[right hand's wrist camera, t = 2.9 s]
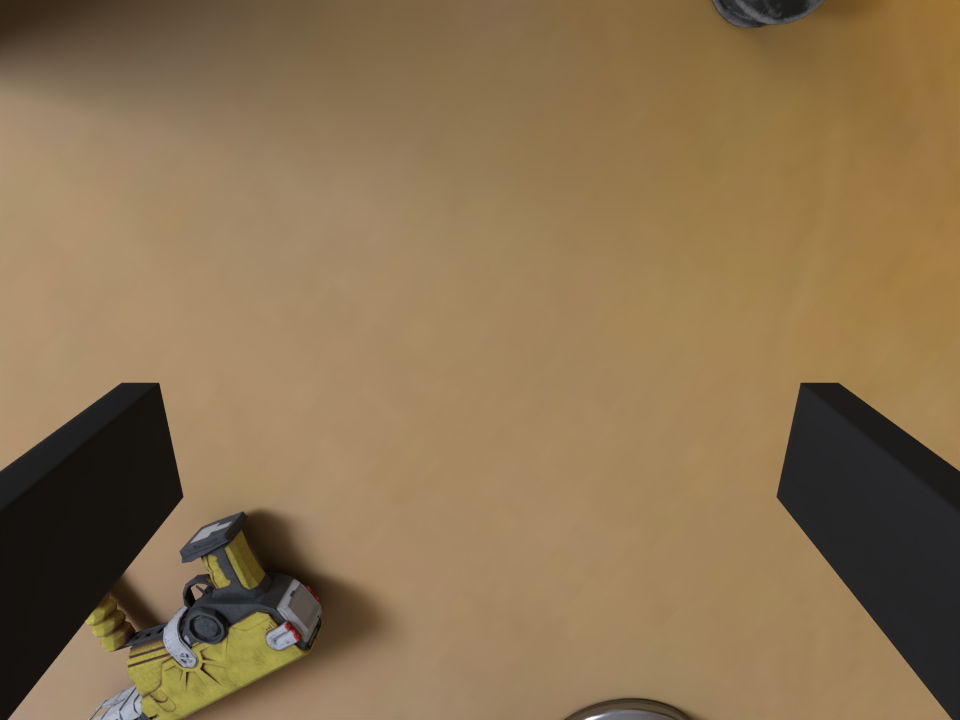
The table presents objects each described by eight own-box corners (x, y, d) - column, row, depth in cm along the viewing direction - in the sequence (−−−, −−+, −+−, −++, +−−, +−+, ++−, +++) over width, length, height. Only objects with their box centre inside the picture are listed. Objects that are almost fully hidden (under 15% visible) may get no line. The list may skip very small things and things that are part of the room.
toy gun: (-31, 642, 47) (101, 767, 51) (184, 504, 41) (319, 656, 44) (17, 600, 52) (137, 717, 55) (219, 470, 46) (339, 610, 49)
